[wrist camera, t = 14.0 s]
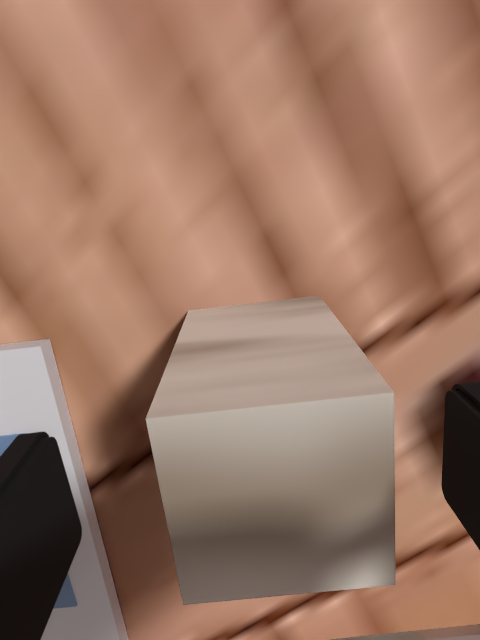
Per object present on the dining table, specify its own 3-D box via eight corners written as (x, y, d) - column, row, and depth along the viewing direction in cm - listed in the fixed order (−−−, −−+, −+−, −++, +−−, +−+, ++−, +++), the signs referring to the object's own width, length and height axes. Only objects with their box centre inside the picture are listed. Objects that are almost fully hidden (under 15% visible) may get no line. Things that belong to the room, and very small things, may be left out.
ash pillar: (326, 412, 18) (395, 584, 10) (206, 425, 18) (183, 604, 10) (319, 295, 16) (393, 392, 8) (188, 310, 16) (145, 419, 9)
